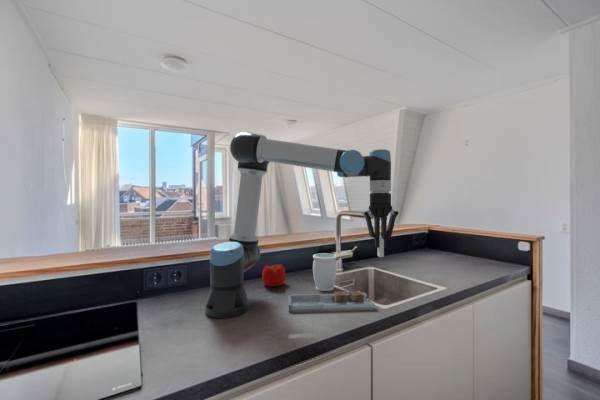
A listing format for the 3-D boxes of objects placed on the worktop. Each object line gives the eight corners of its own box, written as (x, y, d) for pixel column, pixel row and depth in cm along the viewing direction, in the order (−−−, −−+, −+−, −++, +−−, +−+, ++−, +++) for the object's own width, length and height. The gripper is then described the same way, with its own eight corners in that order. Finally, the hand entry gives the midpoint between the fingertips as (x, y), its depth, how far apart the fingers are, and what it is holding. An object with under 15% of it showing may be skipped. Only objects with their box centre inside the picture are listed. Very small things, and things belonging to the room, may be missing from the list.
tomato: (265, 290, 120) (265, 269, 120) (260, 282, 131) (260, 263, 131) (289, 287, 123) (289, 267, 123) (282, 280, 135) (282, 261, 134)
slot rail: (288, 314, 96) (288, 306, 96) (288, 302, 107) (288, 294, 107) (374, 312, 97) (374, 303, 97) (365, 300, 108) (365, 292, 108)
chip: (335, 306, 100) (335, 295, 100) (333, 302, 104) (333, 291, 104) (346, 306, 100) (346, 295, 100) (344, 301, 104) (344, 291, 104)
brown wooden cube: (353, 306, 100) (353, 295, 100) (349, 302, 104) (349, 291, 104) (363, 305, 101) (363, 294, 101) (359, 301, 105) (359, 290, 105)
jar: (335, 295, 114) (335, 258, 114) (310, 293, 116) (310, 257, 116) (337, 286, 125) (337, 253, 124) (314, 285, 127) (314, 252, 126)
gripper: (365, 192, 98) (366, 259, 99) (401, 192, 99) (402, 258, 99) (360, 192, 106) (360, 254, 106) (393, 192, 106) (393, 253, 107)
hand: (380, 256), depth 103 cm, fingers closed
